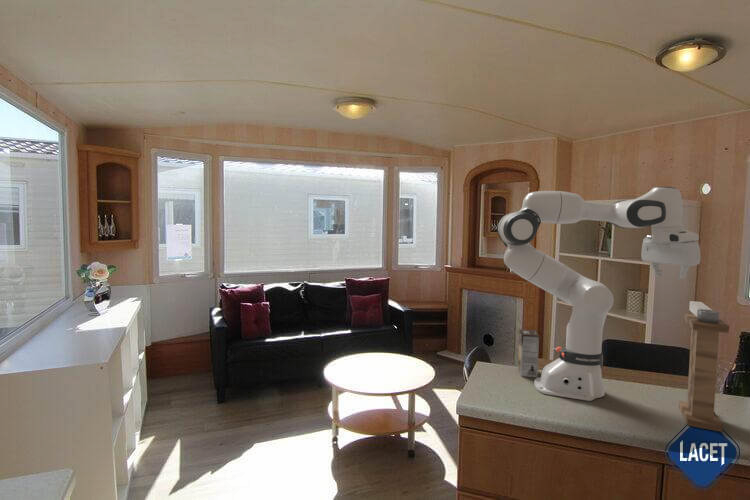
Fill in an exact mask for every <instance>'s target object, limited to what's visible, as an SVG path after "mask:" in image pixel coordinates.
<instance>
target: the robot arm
mask: <svg viewBox="0 0 750 500" xmlns="http://www.w3.org/2000/svg"><path fill="white" fill-rule="evenodd" d="M682 197H683V196H682V194H681V192H680V190H679V188H676V187H673V186H656V187H652V189H651V190H650V191H648V192H646V193H645V194H643V195H641V196H639V197H636V198H635V199H621V200H618V201H615V202H611V203H601V202H591V201H586V200H585V199H584V198H583V197H582V196H581V194H577V193H574V192H571V191H570V192H569V191H561V190H539V191H538V190H537V191H532V192H529V193H527V194H526V195H525V196H524V198H523V201H522V206H521V208H520V210H518V211H516V212H515V211H513V212H510V213H506V214H504V215H503V216H501V218H500V219H499V220H498V222H497V225H496V229H497V234H498V237H499V238H500V240H501V241H502V243H503V245H504V246H505V247H506V250H505V252H504V254H503V263H504V265H505V266H506V268H509V270H511V271H512V272H513V273H514V274H516V275H517V276H519V277H521V278H522V279H523V280H525V281H527V282H529V283H530V284H532V285H534V286H536V287H538V288H540V289H541V290H543V291H545V292H547V293H549V294H551V295H553V296H554V297H556V298H558V299H559V300H561V301H563V302H565V303H567V304H568V305H571V306H572V312H571V315H570V319H569V321H568V323H567V325H566V332H565V334H566V337H565V347H564V348H562V347H561V346H557V347H556V348H555V351H556V352H557V353H558V356H559V357H558V358H556V359H555V360H553V361H551V362H549V363H548V364H546V365H545V366H544V367H543V369H542V371H541V375H540V377H539V376H537V377H535V378H534V382H533V384H534V387H535V389H536V390H537V391H538V392H540V393H542V394H545V395H549V396H556V397H563V398H569V399H575V400H581V401H589V402H591V401H593V400H595V399H599V398H602V397H604V396H605V395H606V393H605V390H604V384H603V378H602V369H603V365H604V355H603V352H602V344H603V331H604V325H605V322H606V319H607V315H608V313H609V312H610V310H611V309H612V307H613V306H614V295H613V292H611V290H610V289H609V288H608V287H607V286H606V285H605V284H603V283H602V282H600V281H597V280H593V279H591V278H588V277H586V276H584V275H582V274H581V273H579V272H576V271H575V270H574V269H573V268H571V267H569V266H567V265H566V264H564V263H562V262H561V261H560V260H558V259H555V258H554V257H552V256H550V255H548V254H546V253H545V252H543V251H541V250H539V249H537V248H535V247H534V246H533V245H532V244H531V241H533V240H534V239H535V237H536V235H537V233H538V230H539V228H540V225H541V224H543V223H544V224H556V225H564V224H565V225H569V224H577V223H579V222H580V221H595V222H596V221H598V222H607V223H609V224H611V225H613V226H614V227H617V228H620V229H642V228H647V227H650V226H651V235H646V236H645V237H644V238H643V240H642V246H641V256H640V257H641V261H643V262H644V263H650V266H651V267H650V268H651V269H652V270H653V274H654V275H653V276H656V277H660V276H663V270H661V269H660V264H663V265H664V264H665V265H677V266H679V269H680V271H679V272H677V274H676V275H677V279H680V280H686V278H687V273H688V271H689V269H690V267H692V266H698V265H699V264H700V263H701V258H702V257H701V247H700V243H698V241H699V239H700V235H699V234H698V233H697V232H696V233H695V232H693V231H690V230H687V229H685V228H684V227H685V226H684V222H683V214H684V208H683V199H682Z"/></svg>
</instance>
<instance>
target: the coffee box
mask: <svg viewBox="0 0 750 500" xmlns="http://www.w3.org/2000/svg"><path fill="white" fill-rule="evenodd" d="M518 332H519V335H518V361H517V366H518V367H517V368H518V373H519V375H520V377H529V378H530V377H531V378H538V377H539V375H538V374H539V373H538V371H539V352H540V351H539V348H540V345H539V344H540V335H539V333H538V332H537V329H523V328H520V329H519V331H518Z"/></svg>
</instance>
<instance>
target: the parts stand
mask: <svg viewBox="0 0 750 500" xmlns="http://www.w3.org/2000/svg"><path fill="white" fill-rule="evenodd" d="M683 315H684V316H683V317H684V318H683V321H685V323H686V324H687V325H689V327H690V328H691V332H690V345H689V346H690V347H689V362H688V363H689V364H688V365H689V366H688V382H687V383H688V384H687V398H686V401H683V400H682V401H681V400H680V401H678V403H679V404H678V408H679V410H680V413H681V415H682V417H683V419H684V421H685V423H686V425H687V427H688V426H689V427H692V428H700V429H705V430H709V431H716V432H719V433H720V432H721V433H723V427H724V426H723V423H722V421H721V420H720V418H719V416H717V414H716V412H715V401H716V384H717V369H718V368H717V367H718V355H719V352H718V351H719V339H720V337H719V335H720V333H724V334H729V332H730V326H729V325H728V324H727V323H726V322H725V321H723V320H722V319H720V318H719V323H704V322H700V321H697V317H696V316H695V315H694V314H693V313H692V314H691V313H684V314H683Z"/></svg>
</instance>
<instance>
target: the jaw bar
mask: <svg viewBox="0 0 750 500" xmlns="http://www.w3.org/2000/svg"><path fill="white" fill-rule="evenodd" d="M688 307H689V310H688V311H690V312H691V313H692V314H693V315H695V316H696V317H697V321H700V322H704V323H719V319H720V311H717V310H713V309H712V308H710V307H709V306H707V305H706V304H705V303H703V302H702V301H693V300H690V301H689V306H688Z"/></svg>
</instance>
